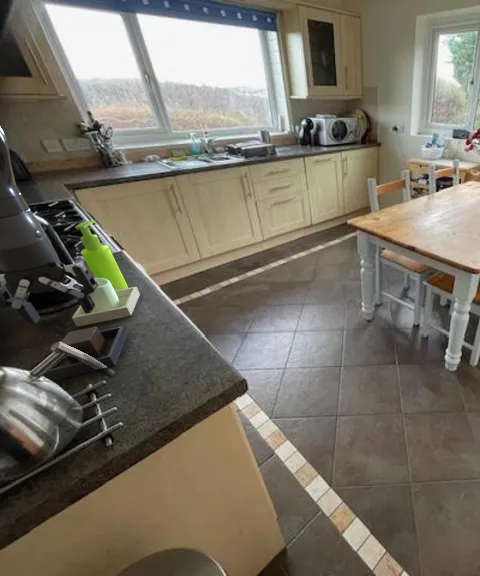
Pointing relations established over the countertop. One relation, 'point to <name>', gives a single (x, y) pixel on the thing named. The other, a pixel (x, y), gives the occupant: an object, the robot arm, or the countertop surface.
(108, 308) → the candle
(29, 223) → the robot arm
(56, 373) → the charcoal tray
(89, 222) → the soap dispenser
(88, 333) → the walnut block
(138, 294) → the cream tray
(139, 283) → the countertop surface
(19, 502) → the countertop surface
